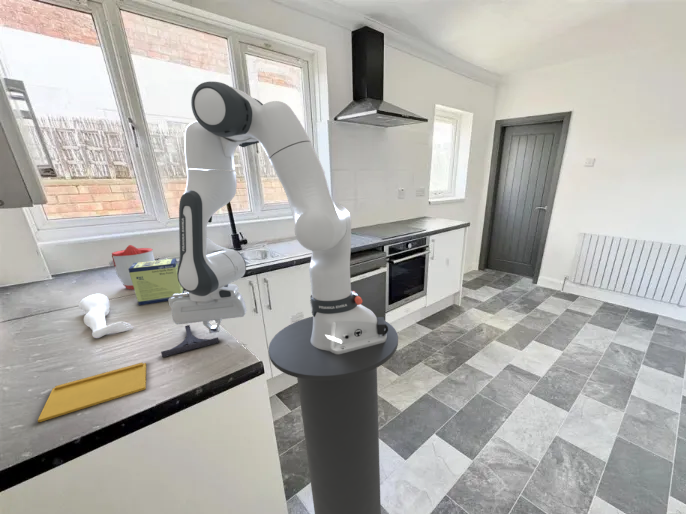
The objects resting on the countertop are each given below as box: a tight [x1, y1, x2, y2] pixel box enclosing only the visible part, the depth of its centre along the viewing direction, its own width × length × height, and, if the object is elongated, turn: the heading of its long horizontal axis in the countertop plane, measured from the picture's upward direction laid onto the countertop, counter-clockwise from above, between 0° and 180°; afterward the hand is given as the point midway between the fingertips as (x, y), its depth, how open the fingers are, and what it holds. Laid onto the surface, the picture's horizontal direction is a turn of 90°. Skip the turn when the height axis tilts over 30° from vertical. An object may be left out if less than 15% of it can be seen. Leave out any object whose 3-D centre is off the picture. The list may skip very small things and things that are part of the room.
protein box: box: [128, 258, 185, 306], centre depth 129 cm, size 10×16×16 cm
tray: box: [37, 362, 147, 423], centre depth 73 cm, size 18×13×1 cm
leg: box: [77, 293, 134, 339], centre depth 110 cm, size 7×35×10 cm
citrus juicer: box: [108, 244, 156, 291], centre depth 144 cm, size 16×17×20 cm
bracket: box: [160, 324, 220, 358], centre depth 95 cm, size 14×15×3 cm
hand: (215, 332), depth 98 cm, fingers closed
